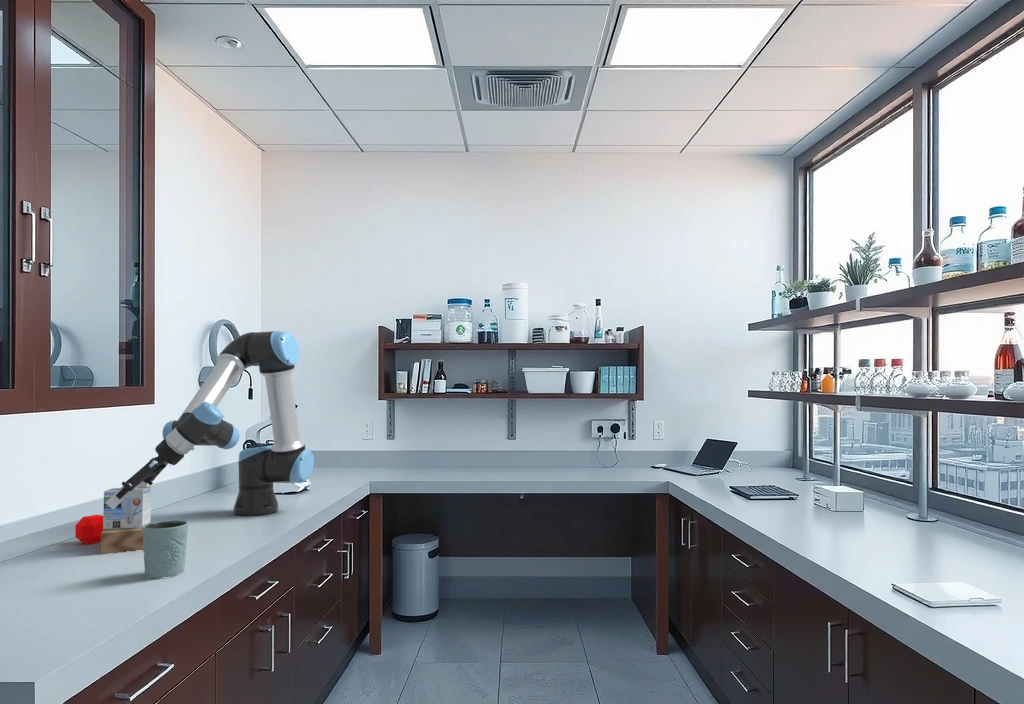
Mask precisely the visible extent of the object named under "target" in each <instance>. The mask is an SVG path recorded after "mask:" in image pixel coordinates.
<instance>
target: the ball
mask: <svg viewBox="0 0 1024 704" xmlns="http://www.w3.org/2000/svg"><path fill="white" fill-rule="evenodd" d="M103 530H104V529H103V515H101V514H93V515H86V516H82V517H81V519H80V520H79V521H78V522H77V523H76V524H75V530H74V531H75V532H74V533H75V535H74V536H75V539H77V540H78V541H80V542H81V543H82V544H84V545H85V544H86V545H95V544H99V543H100V542H101V533H102V531H103ZM100 544H101V543H100Z"/></svg>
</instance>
